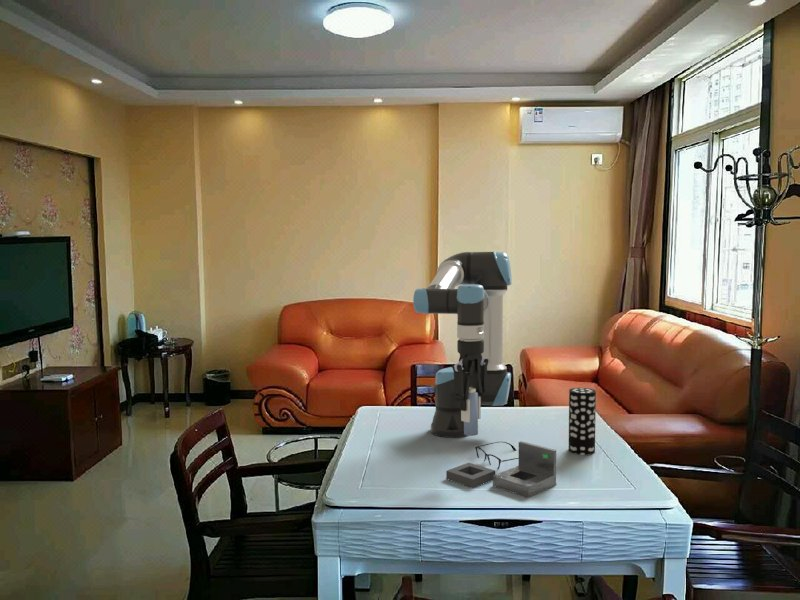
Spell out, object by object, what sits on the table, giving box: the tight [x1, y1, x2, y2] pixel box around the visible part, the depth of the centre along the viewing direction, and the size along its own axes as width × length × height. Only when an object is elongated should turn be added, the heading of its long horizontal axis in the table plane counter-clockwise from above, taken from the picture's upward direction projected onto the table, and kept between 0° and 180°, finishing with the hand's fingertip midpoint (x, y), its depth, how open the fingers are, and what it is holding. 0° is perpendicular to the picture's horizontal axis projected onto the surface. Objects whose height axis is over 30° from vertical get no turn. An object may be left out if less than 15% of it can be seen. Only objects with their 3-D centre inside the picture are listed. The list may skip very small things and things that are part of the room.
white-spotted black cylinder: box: [568, 387, 597, 456], centre depth 215 cm, size 8×8×20 cm
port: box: [492, 440, 557, 499], centre depth 186 cm, size 12×13×10 cm
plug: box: [464, 388, 479, 437], centre depth 190 cm, size 4×4×13 cm
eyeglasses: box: [474, 441, 519, 470], centre depth 208 cm, size 16×16×4 cm
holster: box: [445, 462, 496, 489], centre depth 192 cm, size 10×10×2 cm
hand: (470, 419), depth 190 cm, fingers closed on plug, 4 cm apart
